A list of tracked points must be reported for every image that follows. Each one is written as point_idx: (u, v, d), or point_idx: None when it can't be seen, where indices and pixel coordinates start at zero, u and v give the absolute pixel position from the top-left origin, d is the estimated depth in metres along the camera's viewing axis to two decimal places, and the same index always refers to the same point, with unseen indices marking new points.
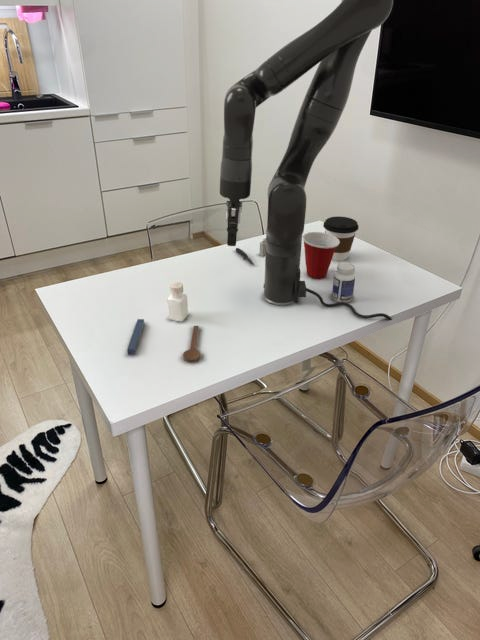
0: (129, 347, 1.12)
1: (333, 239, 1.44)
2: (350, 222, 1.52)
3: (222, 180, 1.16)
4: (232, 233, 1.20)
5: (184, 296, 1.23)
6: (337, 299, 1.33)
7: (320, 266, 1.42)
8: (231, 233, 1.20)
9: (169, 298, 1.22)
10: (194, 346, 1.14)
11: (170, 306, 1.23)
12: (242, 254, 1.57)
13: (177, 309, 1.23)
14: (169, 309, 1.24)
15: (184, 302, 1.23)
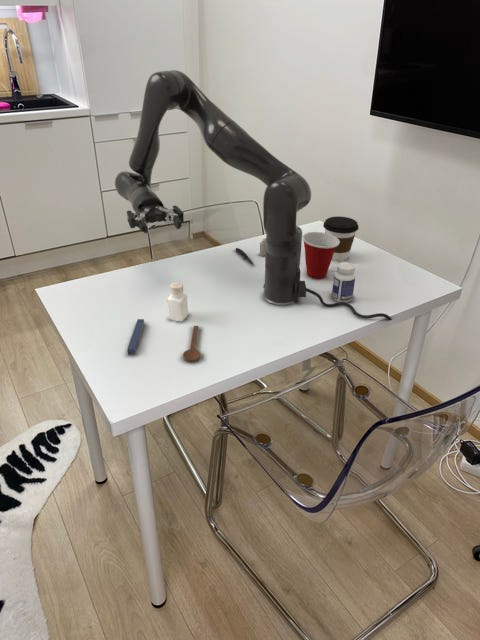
0: (129, 347, 1.12)
1: (333, 239, 1.44)
2: (350, 222, 1.52)
3: None
4: (137, 224, 1.24)
5: (184, 296, 1.23)
6: (337, 299, 1.33)
7: (320, 266, 1.42)
8: (138, 225, 1.25)
9: (169, 298, 1.22)
10: (194, 346, 1.14)
11: (170, 306, 1.23)
12: (242, 254, 1.57)
13: (177, 309, 1.23)
14: (169, 309, 1.24)
15: (184, 302, 1.23)
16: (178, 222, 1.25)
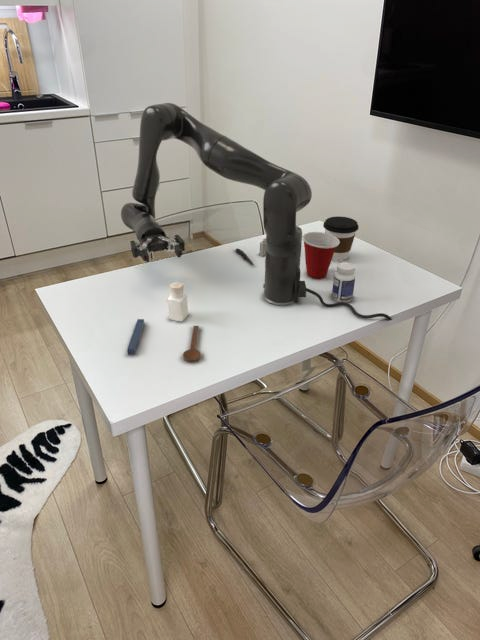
0: (129, 347, 1.12)
1: (333, 239, 1.44)
2: (350, 222, 1.52)
3: None
4: (140, 253, 1.30)
5: (184, 296, 1.23)
6: (337, 299, 1.33)
7: (320, 266, 1.42)
8: (140, 254, 1.30)
9: (169, 298, 1.22)
10: (194, 346, 1.14)
11: (170, 306, 1.23)
12: (242, 255, 1.57)
13: (177, 309, 1.23)
14: (169, 309, 1.24)
15: (184, 302, 1.23)
16: (179, 251, 1.30)
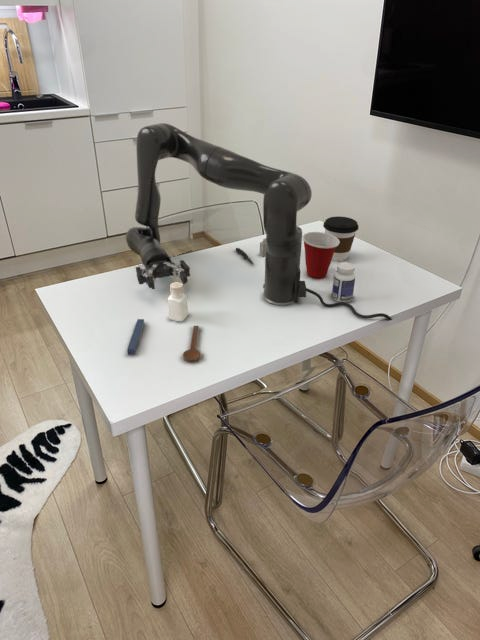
0: (129, 347, 1.12)
1: (333, 239, 1.44)
2: (350, 222, 1.52)
3: None
4: (146, 280, 1.31)
5: (184, 296, 1.23)
6: (337, 299, 1.33)
7: (320, 266, 1.42)
8: (146, 281, 1.31)
9: (169, 298, 1.22)
10: (194, 346, 1.14)
11: (170, 306, 1.23)
12: (242, 254, 1.57)
13: (177, 309, 1.23)
14: (169, 309, 1.24)
15: (184, 302, 1.23)
16: (184, 278, 1.30)
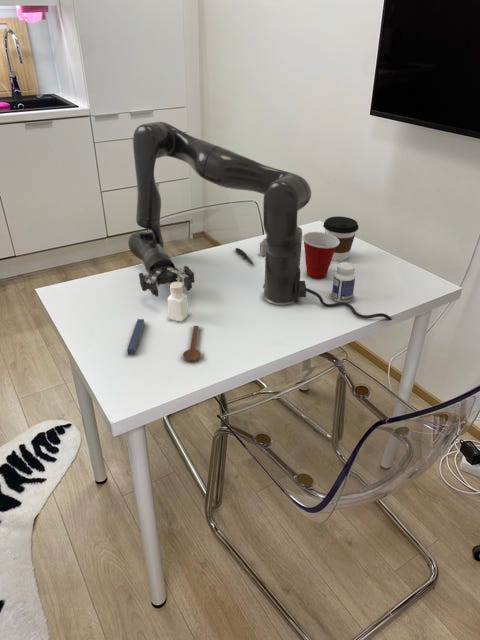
0: (129, 347, 1.12)
1: (333, 239, 1.44)
2: (350, 222, 1.52)
3: None
4: (149, 287, 1.27)
5: (184, 296, 1.23)
6: (337, 299, 1.33)
7: (320, 266, 1.42)
8: (149, 288, 1.28)
9: (169, 298, 1.22)
10: (194, 346, 1.14)
11: (170, 306, 1.23)
12: (242, 254, 1.57)
13: (177, 309, 1.23)
14: (169, 309, 1.24)
15: (184, 302, 1.23)
16: (188, 284, 1.27)
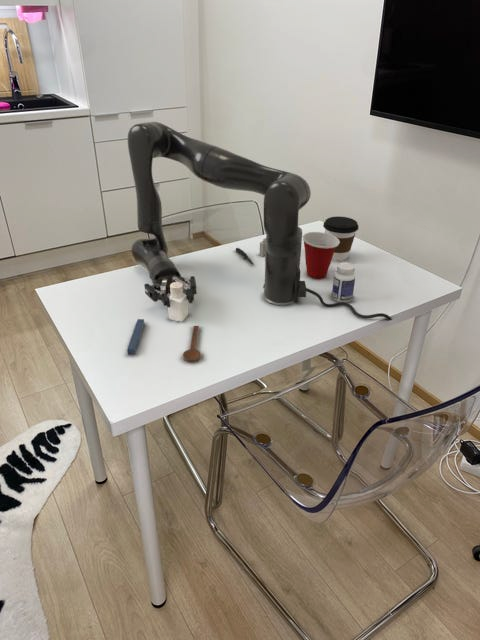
0: (129, 347, 1.12)
1: (333, 239, 1.44)
2: (350, 222, 1.52)
3: None
4: (160, 297, 1.23)
5: (184, 296, 1.23)
6: (337, 299, 1.33)
7: (320, 266, 1.42)
8: (160, 298, 1.23)
9: (169, 298, 1.22)
10: (194, 346, 1.14)
11: (170, 306, 1.23)
12: (242, 254, 1.57)
13: (177, 309, 1.23)
14: (169, 309, 1.24)
15: (184, 302, 1.23)
16: (190, 297, 1.22)
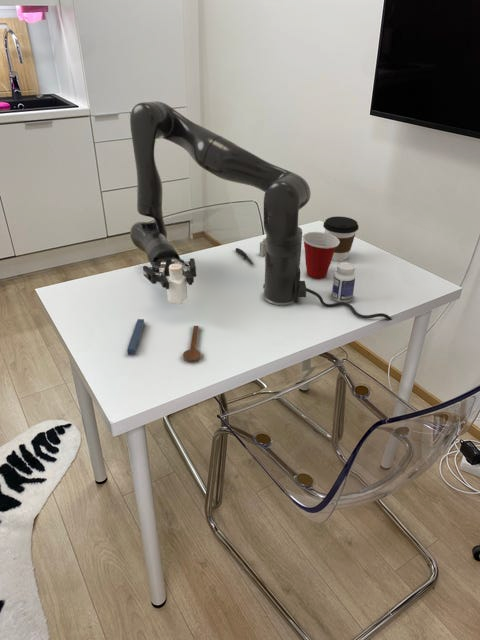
0: (129, 347, 1.12)
1: (333, 239, 1.44)
2: (350, 222, 1.52)
3: None
4: (159, 279, 1.20)
5: (183, 278, 1.20)
6: (337, 299, 1.33)
7: (320, 266, 1.42)
8: (159, 280, 1.20)
9: (168, 280, 1.20)
10: (194, 346, 1.14)
11: (169, 288, 1.20)
12: (242, 254, 1.57)
13: (176, 291, 1.20)
14: (168, 291, 1.21)
15: (183, 284, 1.20)
16: (190, 278, 1.19)
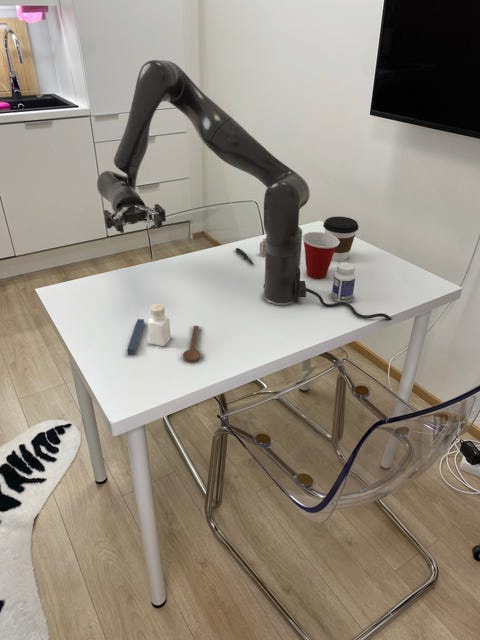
0: (129, 347, 1.12)
1: (333, 239, 1.44)
2: (350, 222, 1.52)
3: None
4: (114, 223, 1.14)
5: (166, 319, 1.14)
6: (337, 299, 1.33)
7: (320, 266, 1.42)
8: (114, 224, 1.14)
9: (149, 321, 1.13)
10: (194, 346, 1.14)
11: (151, 330, 1.14)
12: (242, 254, 1.57)
13: (158, 333, 1.13)
14: (150, 333, 1.14)
15: (166, 325, 1.14)
16: (158, 220, 1.14)
